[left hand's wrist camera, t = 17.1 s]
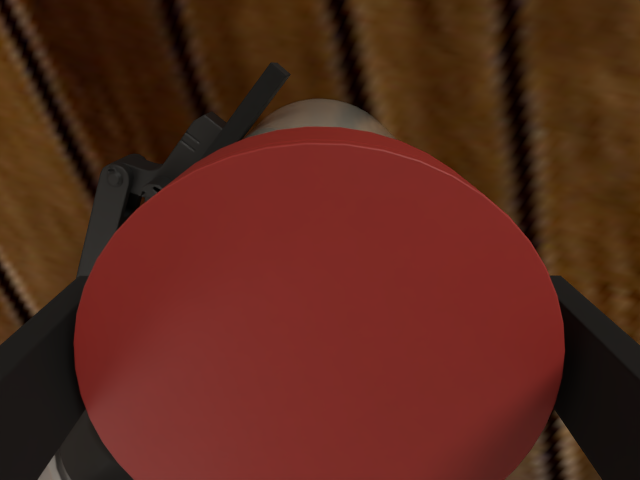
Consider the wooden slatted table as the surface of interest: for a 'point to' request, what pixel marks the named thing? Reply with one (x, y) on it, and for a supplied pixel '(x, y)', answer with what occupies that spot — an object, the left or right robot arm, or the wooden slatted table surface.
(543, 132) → the wooden slatted table surface
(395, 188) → the lid
